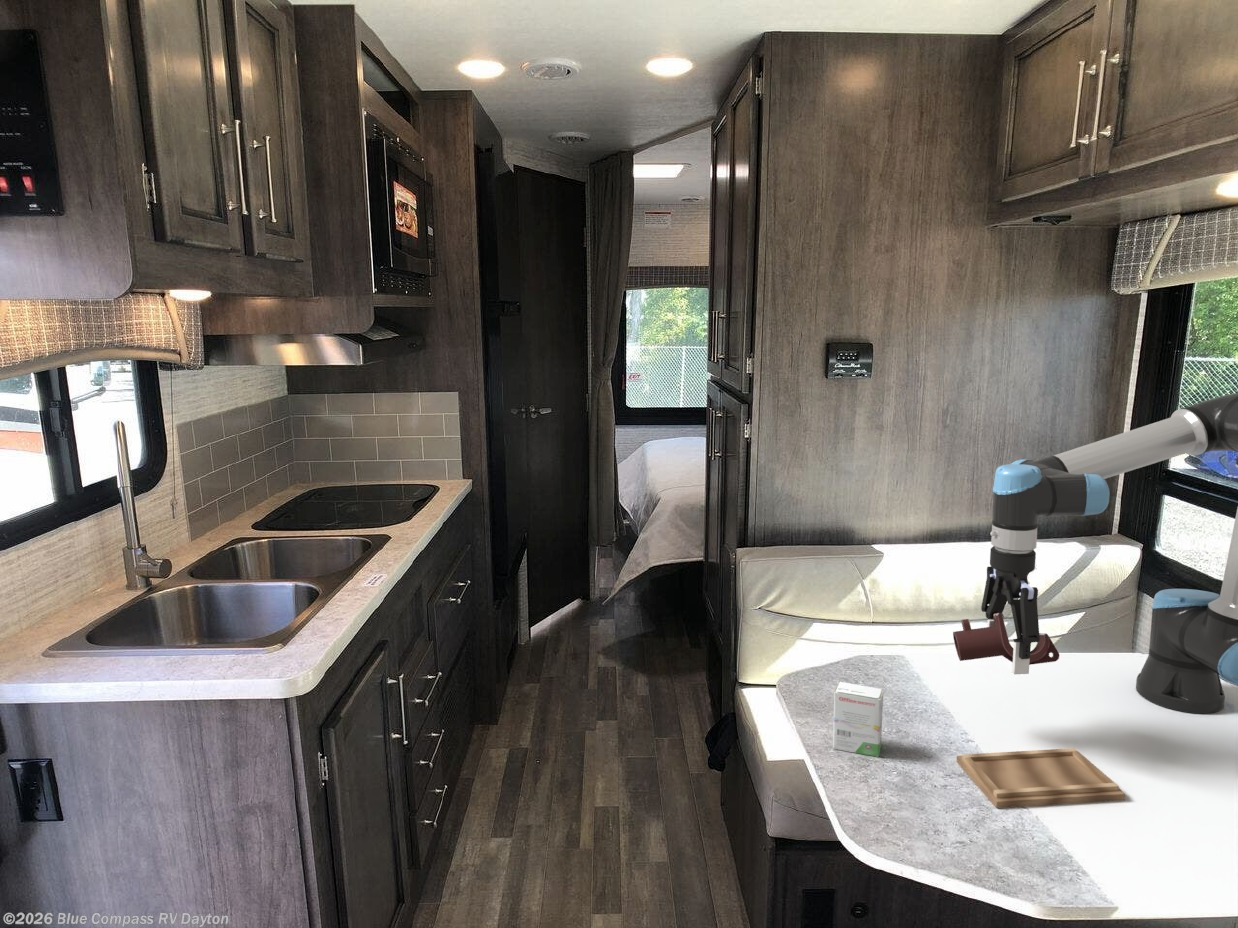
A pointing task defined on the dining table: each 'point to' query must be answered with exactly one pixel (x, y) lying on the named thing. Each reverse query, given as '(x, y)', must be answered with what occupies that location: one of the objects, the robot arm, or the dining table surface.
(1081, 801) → the side panel
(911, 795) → the dining table surface
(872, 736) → the ink box
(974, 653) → the bracket
